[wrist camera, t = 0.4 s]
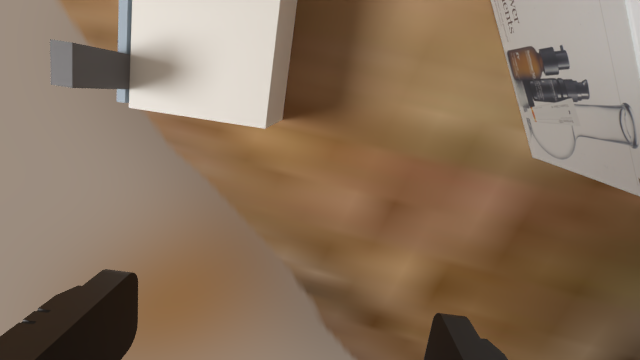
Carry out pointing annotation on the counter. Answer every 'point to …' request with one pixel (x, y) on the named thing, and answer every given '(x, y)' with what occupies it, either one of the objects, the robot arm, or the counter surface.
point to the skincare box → (577, 83)
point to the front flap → (95, 61)
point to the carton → (212, 58)
